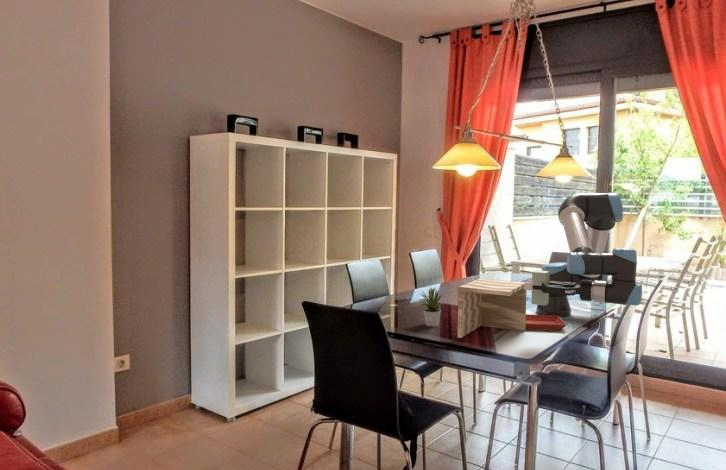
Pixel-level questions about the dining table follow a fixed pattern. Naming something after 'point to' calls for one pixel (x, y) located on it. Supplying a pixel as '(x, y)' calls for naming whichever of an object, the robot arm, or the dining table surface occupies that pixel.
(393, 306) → the dining table surface
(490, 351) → the dining table surface
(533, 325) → the plant saucer
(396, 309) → the dining table surface
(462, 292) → the cubby box
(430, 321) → the house plant
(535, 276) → the tall block
